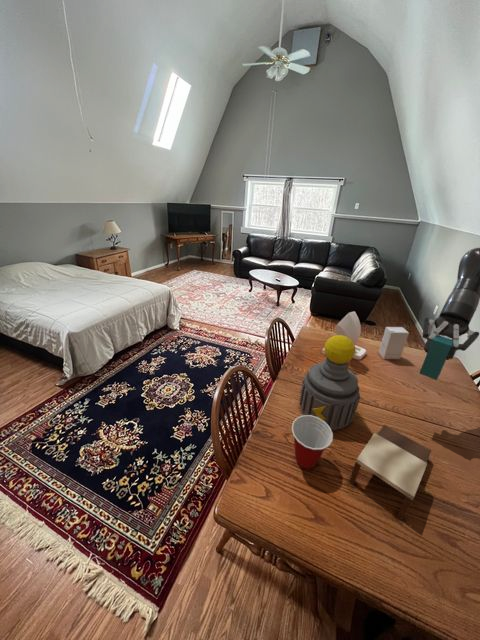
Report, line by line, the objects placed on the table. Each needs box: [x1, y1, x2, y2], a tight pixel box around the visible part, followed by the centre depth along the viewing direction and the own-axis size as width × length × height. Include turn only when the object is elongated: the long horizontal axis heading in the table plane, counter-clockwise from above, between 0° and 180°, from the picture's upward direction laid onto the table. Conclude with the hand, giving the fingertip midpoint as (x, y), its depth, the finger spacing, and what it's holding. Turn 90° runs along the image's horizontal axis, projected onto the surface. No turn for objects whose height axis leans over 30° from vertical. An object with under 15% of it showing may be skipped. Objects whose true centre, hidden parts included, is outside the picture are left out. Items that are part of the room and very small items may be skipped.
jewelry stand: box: [321, 311, 367, 361], centre depth 124 cm, size 25×16×25 cm, turn 136°
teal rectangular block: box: [419, 335, 453, 381], centre depth 80 cm, size 5×5×12 cm
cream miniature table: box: [349, 424, 432, 521], centre depth 73 cm, size 13×24×9 cm, turn 135°
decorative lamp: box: [299, 334, 361, 431], centre depth 88 cm, size 19×19×30 cm
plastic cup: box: [291, 414, 334, 470], centre depth 74 cm, size 11×11×12 cm
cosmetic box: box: [378, 326, 410, 360], centre depth 127 cm, size 8×6×15 cm
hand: (436, 355), depth 78 cm, fingers closed on teal rectangular block, 4 cm apart
